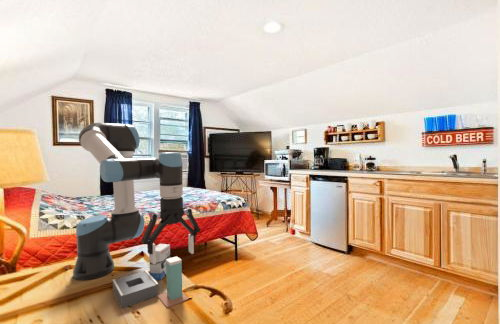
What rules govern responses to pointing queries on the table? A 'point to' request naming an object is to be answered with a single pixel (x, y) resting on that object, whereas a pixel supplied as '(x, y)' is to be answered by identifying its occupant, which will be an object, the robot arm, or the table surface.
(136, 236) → the robot arm
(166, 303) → the mat
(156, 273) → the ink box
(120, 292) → the grey socket base
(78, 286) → the table surface
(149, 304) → the table surface
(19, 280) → the table surface
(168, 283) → the teal tall block
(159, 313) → the table surface
